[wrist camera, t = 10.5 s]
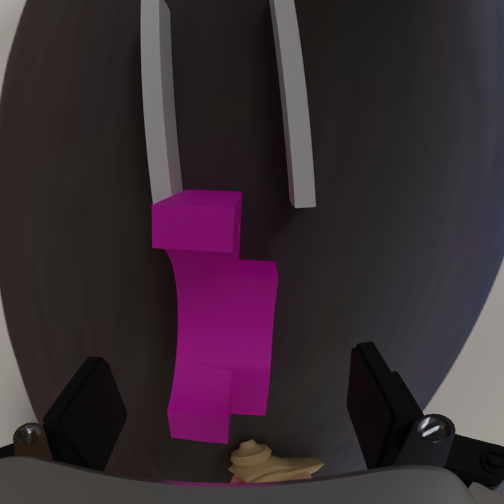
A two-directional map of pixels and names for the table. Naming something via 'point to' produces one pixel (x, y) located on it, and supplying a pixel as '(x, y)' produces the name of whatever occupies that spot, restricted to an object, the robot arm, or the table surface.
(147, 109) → the guide channel
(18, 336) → the table surface
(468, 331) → the table surface
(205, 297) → the toy block
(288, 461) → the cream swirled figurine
